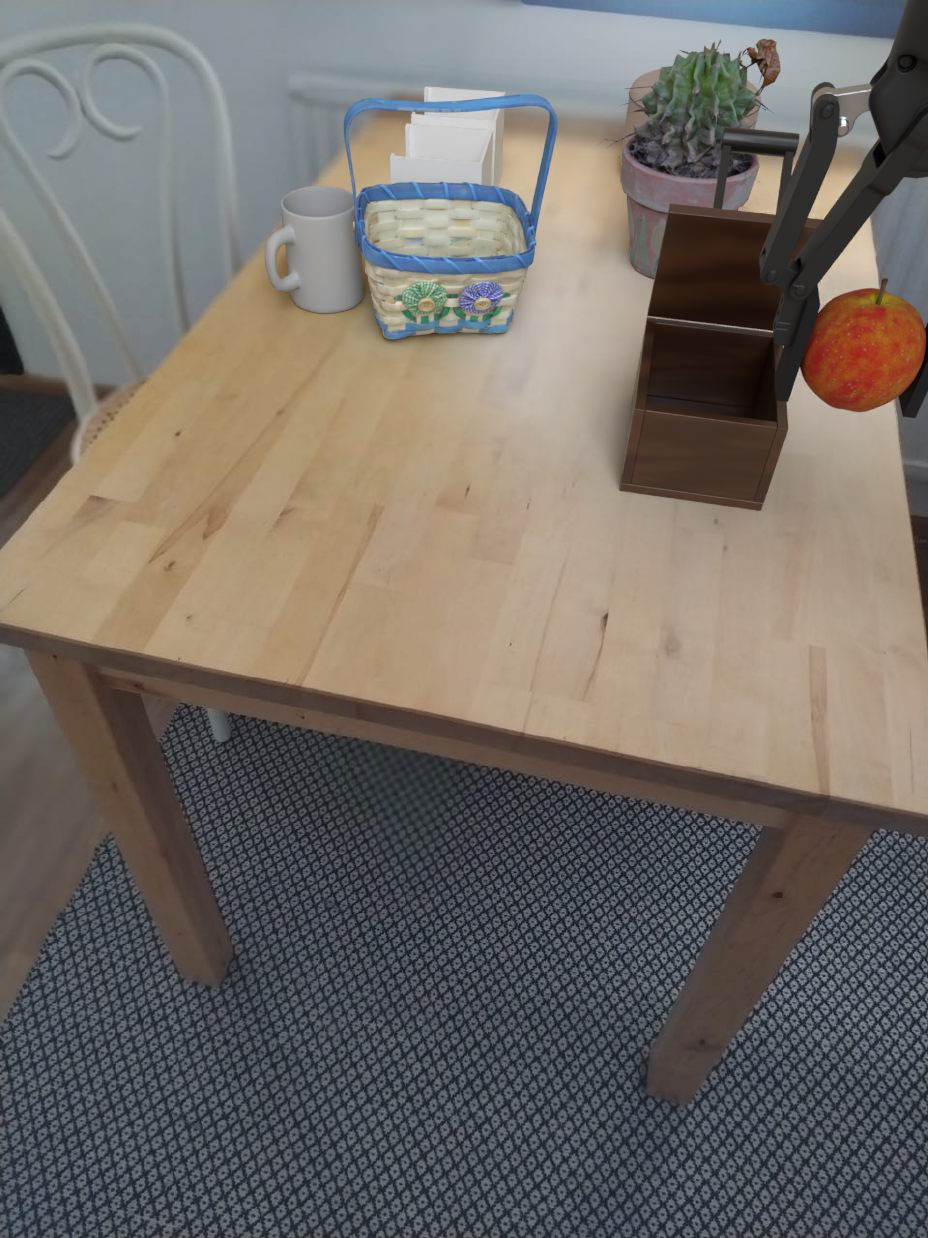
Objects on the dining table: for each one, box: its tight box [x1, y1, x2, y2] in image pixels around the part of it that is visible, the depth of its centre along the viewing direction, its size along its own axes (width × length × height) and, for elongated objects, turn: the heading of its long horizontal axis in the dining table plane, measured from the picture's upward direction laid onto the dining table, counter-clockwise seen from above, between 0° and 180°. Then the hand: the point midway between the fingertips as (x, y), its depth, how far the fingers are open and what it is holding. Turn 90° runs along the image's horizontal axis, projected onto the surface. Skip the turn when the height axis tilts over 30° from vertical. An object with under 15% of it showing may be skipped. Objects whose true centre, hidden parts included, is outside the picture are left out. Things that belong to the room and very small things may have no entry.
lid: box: [646, 127, 823, 332], centre depth 80 cm, size 17×13×10 cm
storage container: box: [389, 86, 507, 220], centre depth 121 cm, size 25×11×11 cm, turn 172°
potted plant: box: [597, 38, 781, 279], centre depth 106 cm, size 18×20×25 cm
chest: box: [619, 316, 789, 511], centre depth 86 cm, size 16×13×9 cm
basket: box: [343, 93, 558, 340], centre depth 96 cm, size 21×16×24 cm
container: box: [620, 68, 762, 164], centre depth 130 cm, size 18×18×12 cm
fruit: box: [799, 277, 926, 413], centre depth 55 cm, size 7×7×8 cm
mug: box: [264, 185, 365, 314], centre depth 103 cm, size 12×8×11 cm
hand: (843, 396), depth 58 cm, fingers closed on fruit, 7 cm apart
